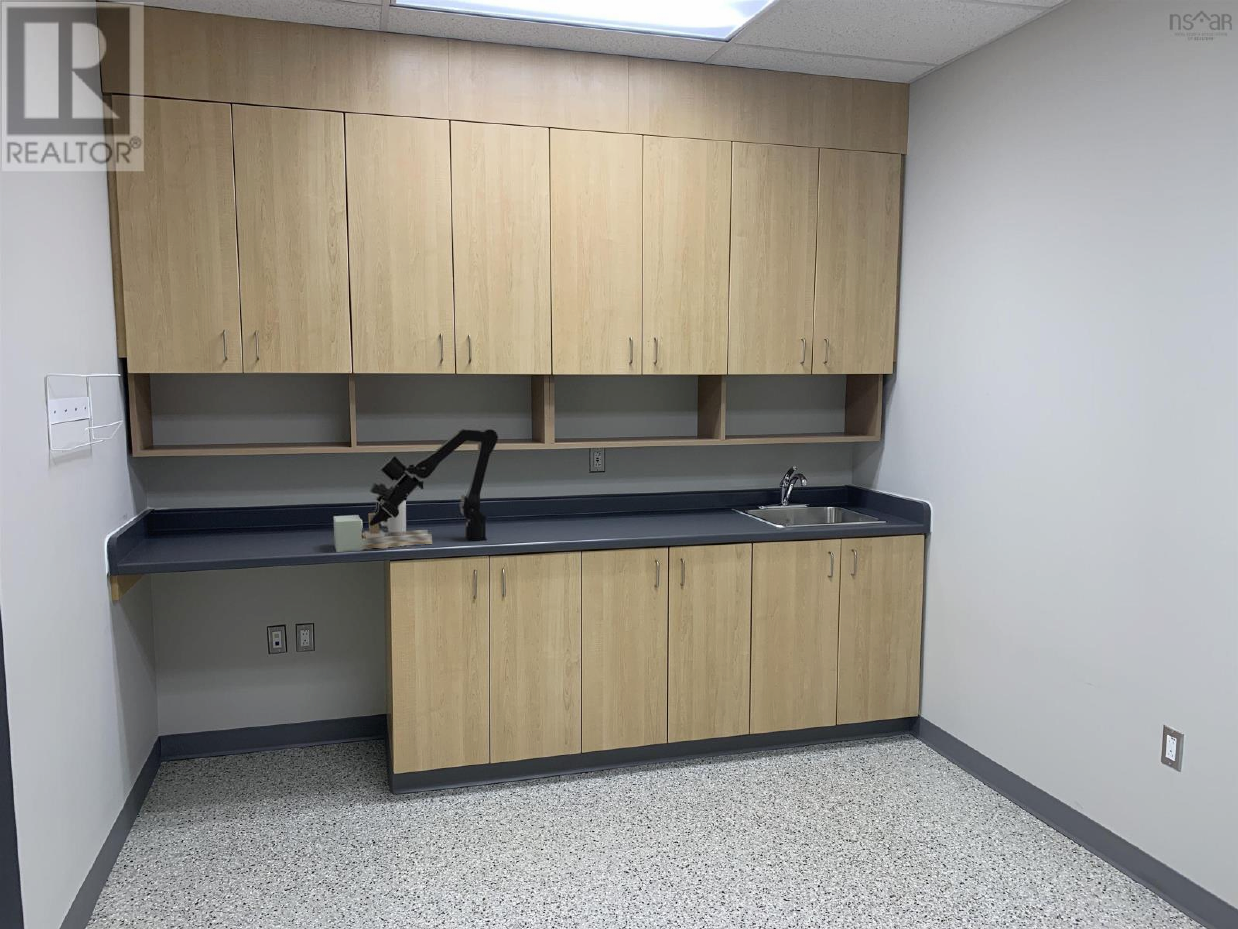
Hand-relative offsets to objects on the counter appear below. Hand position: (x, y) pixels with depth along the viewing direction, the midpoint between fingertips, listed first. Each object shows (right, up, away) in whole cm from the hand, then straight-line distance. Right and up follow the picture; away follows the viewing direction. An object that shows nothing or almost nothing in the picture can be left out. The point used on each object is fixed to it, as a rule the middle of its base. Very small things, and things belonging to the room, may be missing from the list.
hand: (369, 524), depth 281 cm
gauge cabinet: (-6, -8, -2) cm, 10 cm away
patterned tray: (+8, -7, +4) cm, 11 cm away
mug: (+1, -5, +24) cm, 24 cm away
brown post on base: (+1, -6, +1) cm, 6 cm away
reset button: (-4, -6, -1) cm, 7 cm away
